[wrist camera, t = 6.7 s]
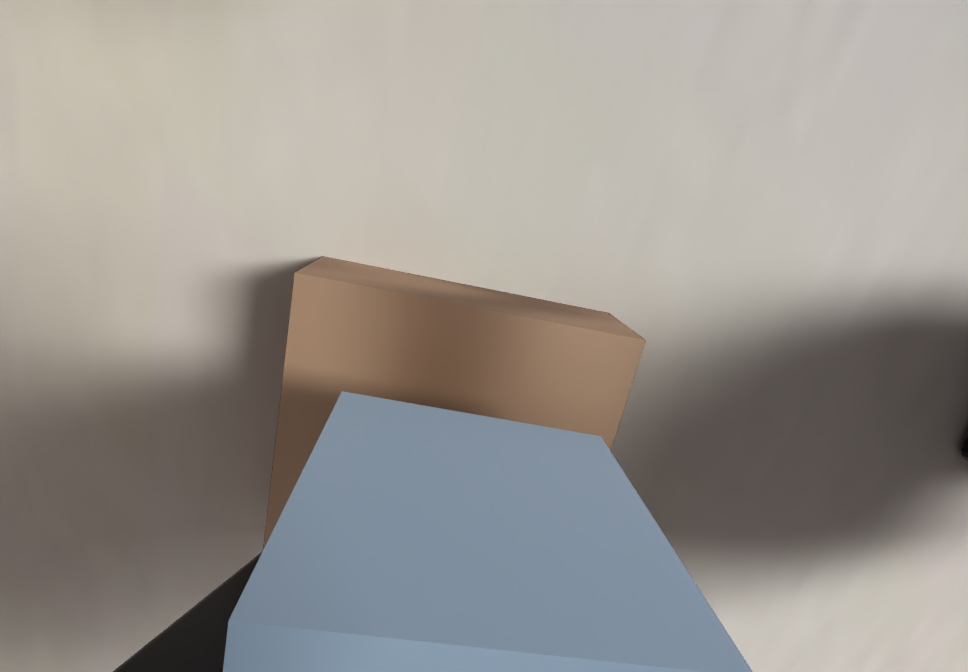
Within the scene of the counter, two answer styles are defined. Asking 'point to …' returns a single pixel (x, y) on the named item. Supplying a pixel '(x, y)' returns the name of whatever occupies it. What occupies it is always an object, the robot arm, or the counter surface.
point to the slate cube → (468, 557)
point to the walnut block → (441, 357)
